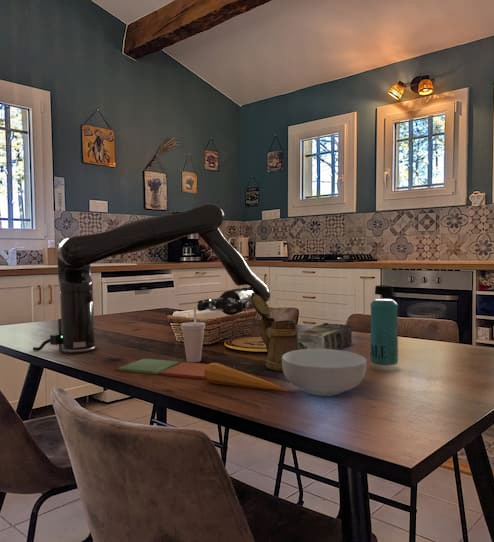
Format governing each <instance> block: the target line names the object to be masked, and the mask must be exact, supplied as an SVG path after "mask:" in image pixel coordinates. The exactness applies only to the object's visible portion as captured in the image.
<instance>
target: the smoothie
mask: <svg viewBox="0 0 494 542" xmlns="http://www.w3.org/2000/svg"><path fill="white" fill-rule="evenodd" d="M205 328H206V322H201V321H197V306H194V307H193V321H189V322H183V323H181V324H180V329H182V337H183V343H184V351H185V359H186V362H189V363H199V362H201V361H202V354H203V345H204V334H205Z"/></svg>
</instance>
